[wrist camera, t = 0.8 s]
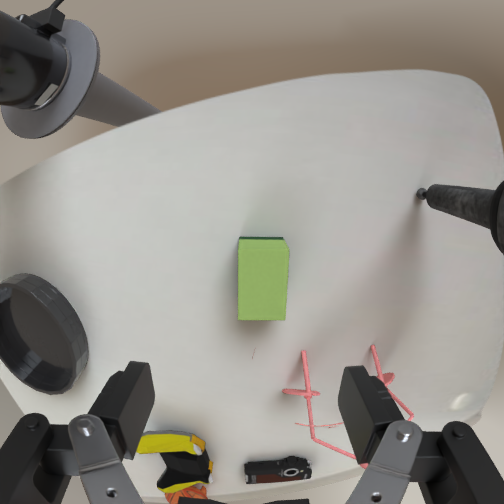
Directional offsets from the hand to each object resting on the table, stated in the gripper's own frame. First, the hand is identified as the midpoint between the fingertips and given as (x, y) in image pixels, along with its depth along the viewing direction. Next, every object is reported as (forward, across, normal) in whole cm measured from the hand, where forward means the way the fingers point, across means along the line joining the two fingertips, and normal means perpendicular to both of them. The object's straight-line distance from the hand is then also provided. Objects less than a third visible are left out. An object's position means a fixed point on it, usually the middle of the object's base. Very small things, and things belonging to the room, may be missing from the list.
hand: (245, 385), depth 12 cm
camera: (+22, -6, +37) cm, 43 cm away
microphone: (+22, -19, -7) cm, 30 cm away
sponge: (+22, -1, +2) cm, 22 cm away
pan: (+21, +30, +12) cm, 38 cm away
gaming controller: (+22, +10, +33) cm, 41 cm away
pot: (+22, +10, +45) cm, 51 cm away
